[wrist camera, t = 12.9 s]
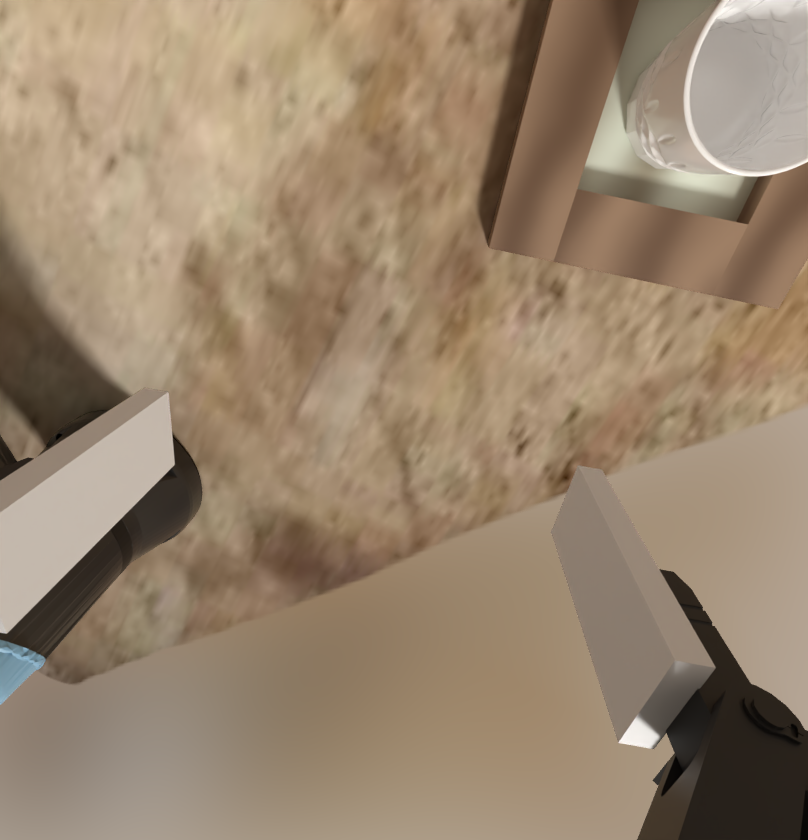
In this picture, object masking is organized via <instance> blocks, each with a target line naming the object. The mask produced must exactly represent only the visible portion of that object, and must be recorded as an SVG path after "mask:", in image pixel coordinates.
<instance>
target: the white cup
mask: <svg viewBox="0 0 808 840" xmlns="http://www.w3.org/2000/svg"><path fill="white" fill-rule="evenodd" d="M626 134H627V137H628V139H629V141H630V143H631V145H632V147H633V149H634V152H635V154H636V156H637V157H639V158H640V159H642V160H643V161H645V162H646V163H648V164H649V165H651V166H653V167H654V168H656V169H671V170H674V171H678V172H683V173H693V174H702V175H729V176H752V177H754V176H767V175H773V174H777V173H781V172H785V171H788V170H791V169H793V168H796V167H798V166H800V165H802V164H805V163H807V162H808V0H716V1H715V2H713V3H712V4H711V5H710V6H709V7H708V8H706V9H705V10H704V11H703V12H702V13H701V14H699V15H698V16H697V17H696V18H695V19H694V20H693V21H691V22H690V23H689V24H688V25H687V26H686V27H685V28H684V29H683V30H682V31H681V32H680V33H679V34H678V35H677V36H676V37H675V38H673V39H672V40H671V41H670V42H669V43H668V44H667V45H666V47H665V48H664V49H663V50H662V51H661V52H660V53H659V54H658V55H657V56H656V57H655V59H654V60H653V61H652V62H651V63H650V64H649V65H648V66H647V67H646V68H645V70H644V71H643V72H642V73H641V74H640V75H639V77H638V80H637V82H636V85H635V87H634V89H633V92H632V94H631V96H630V99H629V101H628V104H627V121H626Z"/></svg>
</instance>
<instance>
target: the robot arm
mask: <svg viewBox="0 0 808 840" xmlns="http://www.w3.org/2000/svg"><path fill="white" fill-rule="evenodd" d="M201 500H202V486H201V481H200V477H199V474H198V472H197V469H196V467H195V465H194V463H193V462H192V460H191V458H190V457H189V455H188V454H187V453H186V451H185V450H184V449H183V448H182V447H181V446H180V445H179V443H178V442H177V441H175V440H174V439H173V438H172V427H171V416H170V405H169V394H168V392H166V391H161V390H155V389H149V388H143V389H141V390H140V391H138V392H137V393H135V394H134V395H132V396H131V397H129V398H127V399H126V400H124V401H123V402H121V403H120V404H118V405H117V406H115V407H114V408H112V409H110V410H109V411H95V412H91V413H88V414H85V415H83V416H81V417H79V418H77V419H76V420H74V421H72V422H71V423H69V424H67V425H65V426H64V427H62V428H61V429H60V430H59V431H58V432H56V433H55V434H54V435H53V437H52V438H51V439H50V441H49V442H48V444H47V446H46V448H45V449H44V450H43V451H42V452H41V453H40V454H39V455H38V457H36V458H35V459H33V458H26V459H23V460H20V461H18V462H17V461H16V459H15V458H14V456H13V454H12V453H11V451H10V450H9V448H8V446H7V445H6V443H5V442H4V440H3V439H2V437H1V435H0V705H1V704H2V703H3V702H4V701H5V700H6V699H7V698H8V697H9V695H11V694H12V693H13V692H14V691H15V690H16V689H17V688H18V687H19V686H20V685H21V684H22V683H23V682H24V681H25V680H26V679H27V678H28V677H29V676H30V675H31V674H32V673H33V672H34V671H35V670H38V669H39V668H40V667H42V666H43V664H44V662H45V661H46V658H47V657H48V656H49V655H50V654H51V653H52V652H53V650H54V649H55V648H56V647H57V646H58V645H59V644H60V642H61V641H62V640H63V639H64V638H65V637H66V636H67V634H68V633H69V632H70V631H71V630H72V629H73V628H74V626H75V625H76V624H77V623H78V622H79V621H80V620H81V618H82V617H83V616H84V615H85V614H86V613H87V611H88V610H89V609H90V608H91V607H92V606H93V605H94V603H95V602H96V601H97V600H98V599H99V598H100V597H101V595H102V594H103V593H104V592H105V591H106V590H107V589H108V587H109V586H110V585H111V584H112V583H113V582H114V581H115V580H116V578H117V577H118V576H119V575H120V574H121V573H122V572H123V571H124V570H125V568H126V567H127V566H128V565H129V564H130V563H131V562H133V561H134V560H136V559H137V558H139V557H141V556H142V555H144V554H145V553H147V552H149V551H150V550H152V549H154V548H155V547H157V546H158V545H160V544H161V543H164V542H166V541H168V540H170V539H172V538H174V537H175V536H176V535H178V534H179V533H180V532H181V531H182V530H183V529H184V528H185V527H186V526H187V525H188V523H189V522H190V521H191V520H192V519H193V517H194V516H195V515H196V513H197V511H198V509H199V507H200V504H201ZM551 533H552V536H553V539H554V542H555V545H556V549H557V552H558V555H559V558H560V561H561V564H562V567H563V570H564V574H565V577H566V580H567V583H568V586H569V589H570V593H571V596H572V599H573V602H574V605H575V608H576V611H577V615H578V618H579V621H580V624H581V627H582V630H583V633H584V637H585V639H586V643H587V646H588V649H589V652H590V655H591V658H592V662H593V665H594V668H595V671H596V674H597V677H598V680H599V684H600V687H601V690H602V693H603V696H604V699H605V702H606V706H607V709H608V712H609V715H610V718H611V721H612V724H613V727H614V731H615V734H616V737H617V740H618V743H623V744H629V745H634V746H640V747H645V748H651V749H654V748H655V747H656V746H657V744H658V743H659V742H660V740H661V739H662V738H663V737H664V735H665V734H666V733H667V735H668V738H669V740H670V742H671V745H672V747H673V750H674V752H675V754H674V755H673V756H672V757H671V758H670V760H669V761H668V762H667V763H666V765H665V766H664V767H663V768H662V770H661V771H660V772H659V773H658V775H657V776H656V777H655V778H654V779H653V781H654V782H655V783H656V784H657V785H659V786H658V788H657V791H656V793H655V796H654V798H653V801H652V804H651V806H650V809H649V811H648V814H647V816H646V819H645V821H644V824H643V826H642V829H641V832H640V834H639V836H638V839H637V840H808V731H806V730H805V729H804V728H803V726H802V724H801V722H800V721H799V720H798V718H797V717H796V716H795V715H794V714H793V713H792V712H791V711H790V709H789V708H788V707H787V706H786V705H785V704H783V703H782V702H781V701H779V700H778V699H777V698H776V697H774V696H773V695H772V694H770V693H769V692H767V691H765V690H763V689H761V688H759V687H757V686H755V685H752V684H751V683H750V682H749V680H748V679H747V677H746V675H745V674H744V672H743V671H742V669H741V667H740V666H739V664H738V663H737V661H736V659H735V658H734V656H733V655H732V653H731V651H730V650H729V648H728V647H727V645H726V644H725V642H724V640H723V639H722V637H721V636H720V634H719V632H718V631H717V629H716V628H715V626H712V621H711V620H710V618H709V616H708V615H707V613H706V612H705V611H703V609H702V608H703V607H702V605H701V604H700V602H699V601H698V599H697V597H696V596H695V594H694V593H693V591H692V589H691V588H690V587H689V586H688V585H687V584H686V583H684V582H683V581H682V580H681V579H680V578H679V577H678V576H677V575H676V574H675V573H674V572H671V571H666V570H660V569H659V568H658V566H657V565H656V563H655V561H654V559H653V558H652V556H651V554H650V552H649V551H648V549H647V547H646V545H645V544H644V542H643V540H642V538H641V537H640V535H639V533H638V532H637V530H636V528H635V527H634V525H633V523H632V521H631V519H630V518H629V516H628V514H627V513H626V511H625V509H624V507H623V505H622V504H621V502H620V500H619V499H618V497H617V495H616V494H615V492H614V490H613V488H612V486H611V485H610V483H609V481H608V479H607V478H606V476H605V474H604V472H603V471H602V470H601V469H595V468H589V467H584V466H578V467H577V469H576V472H575V474H574V477H573V479H572V482H571V484H570V487H569V489H568V492H567V494H566V497H565V499H564V502H563V504H562V506H561V509H560V511H559V514H558V516H557V519H556V521H555V524H554V526H553V529H552V531H551Z"/></svg>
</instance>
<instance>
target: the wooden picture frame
mask: <svg viewBox="0 0 808 840" xmlns="http://www.w3.org/2000/svg"><path fill="white" fill-rule="evenodd" d="M715 1H716V0H550V2H549V6H548V10H547V14H546V18H545V22H544V25H543V29H542V33H541V37H540V41H539V45H538V49H537V53H536V57H535V61H534V65H533V68H532V72H531V76H530V80H529V84H528V88H527V92H526V96H525V100H524V104H523V107H522V111H521V115H520V119H519V123H518V127H517V131H516V135H515V139H514V143H513V146H512V150H511V154H510V158H509V162H508V166H507V170H506V174H505V178H504V182H503V185H502V189H501V193H500V197H499V201H498V205H497V209H496V213H495V217H494V221H493V224H492V228H491V232H490V236H489V240H488V247H489V248H492V249H496V250H501V251H506V252H511V253H515V254H520V255H525V256H529V257H534V258H539V259H544V260H548V261H553V262H558V263H562V264H567V265H572V266H577V267H581V268H586V269H591V270H595V271H600V272H605V273H610V274H614V275H619V276H624V277H628V278H633V279H638V280H643V281H647V282H652V283H657V284H661V285H666V286H671V287H676V288H680V289H685V290H690V291H694V292H699V293H704V294H709V295H713V296H718V297H723V298H727V299H732V300H737V301H742V302H746V303H751V304H756V305H760V306H765V307H770V308H775V309H779V307H780V305H781V303H782V302H783V300H784V298H785V297H786V295H787V293H788V291H789V290H790V288H791V286H792V285H793V283H794V281H795V279H796V278H797V276H798V274H799V273H800V271H801V269H802V267H803V266H804V264H805V262H806V261H807V259H808V162H807V163H805V164H802V165H800V166H798V167H796V168H793V169H791V170H788V171H785V172H781V173H777V174H773V175H767V176H754V177H752V176H729V175H702V174H693V173H683V172H678V171H674V170H671V169H656V168H654V167H653V166H651V165H649V164H648V163H646V162H645V161H643V160H642V159H640V158H639V157H637V156H636V154H635V152H634V149H633V147H632V145H631V143H630V141H629V139H628V137H627V134H626V121H627V104H628V101H629V99H630V96H631V94H632V92H633V89H634V87H635V85H636V82H637V80H638V77H639V75H640V74H641V73H642V72H643V71H644V70H645V68H646V67H647V66H648V65H649V64H650V63H651V62H652V61H653V60H654V59H655V57H656V56H657V55H658V54H659V53H660V52H661V51H662V50H663V49H664V48H665V47H666V45H667V44H668V43H669V42H670V41H671V40H672V39H673V38H675V37H676V36H677V35H678V34H679V33H680V32H681V31H682V30H683V29H684V28H685V27H686V26H687V25H688V24H689V23H690V22H691V21H693V20H694V19H695V18H696V17H697V16H698V15H699V14H701V13H702V12H703V11H704V10H705V9H706V8H708V7H709V6H710V5H711V4H712V3H713V2H715Z"/></svg>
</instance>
